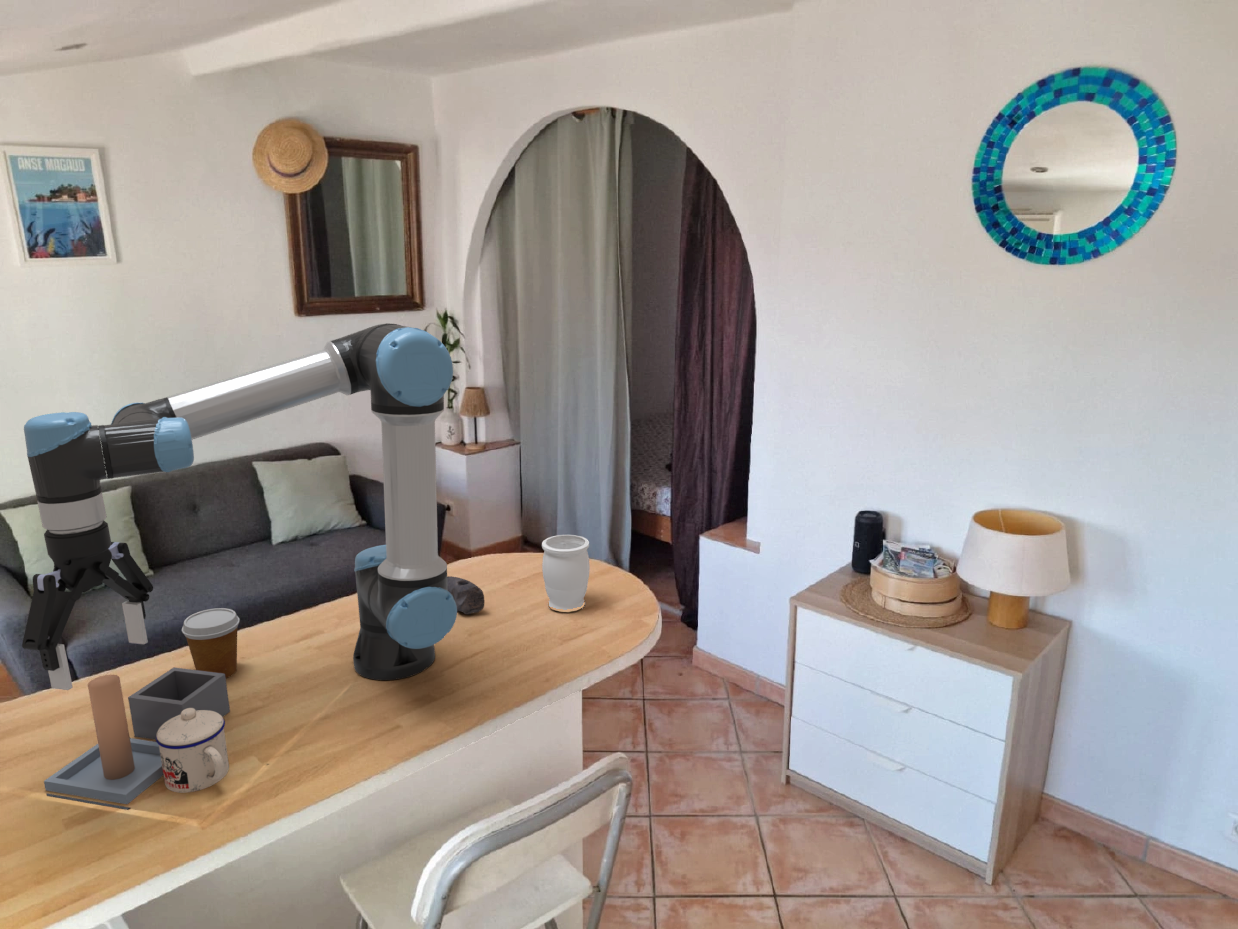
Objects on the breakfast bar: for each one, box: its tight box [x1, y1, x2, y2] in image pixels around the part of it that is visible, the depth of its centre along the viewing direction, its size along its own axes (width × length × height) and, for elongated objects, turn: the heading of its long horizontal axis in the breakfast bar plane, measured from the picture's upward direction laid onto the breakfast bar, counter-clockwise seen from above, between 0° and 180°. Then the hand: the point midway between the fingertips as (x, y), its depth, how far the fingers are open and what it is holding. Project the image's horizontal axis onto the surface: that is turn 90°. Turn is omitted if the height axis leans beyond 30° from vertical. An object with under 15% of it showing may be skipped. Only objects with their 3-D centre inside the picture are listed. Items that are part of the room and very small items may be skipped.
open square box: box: [127, 667, 231, 741], centre depth 137 cm, size 10×10×8 cm
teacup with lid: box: [155, 708, 230, 793], centre depth 122 cm, size 12×9×12 cm
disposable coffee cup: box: [181, 607, 240, 679], centre depth 153 cm, size 10×10×12 cm
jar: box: [541, 534, 590, 610], centre depth 183 cm, size 11×10×15 cm
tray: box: [43, 737, 164, 811], centre depth 125 cm, size 14×12×2 cm
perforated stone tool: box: [447, 575, 486, 615], centre depth 183 cm, size 15×5×7 cm, turn 41°
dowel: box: [87, 674, 135, 780], centre depth 123 cm, size 4×4×15 cm
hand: (102, 664), depth 120 cm, fingers open, 13 cm apart
